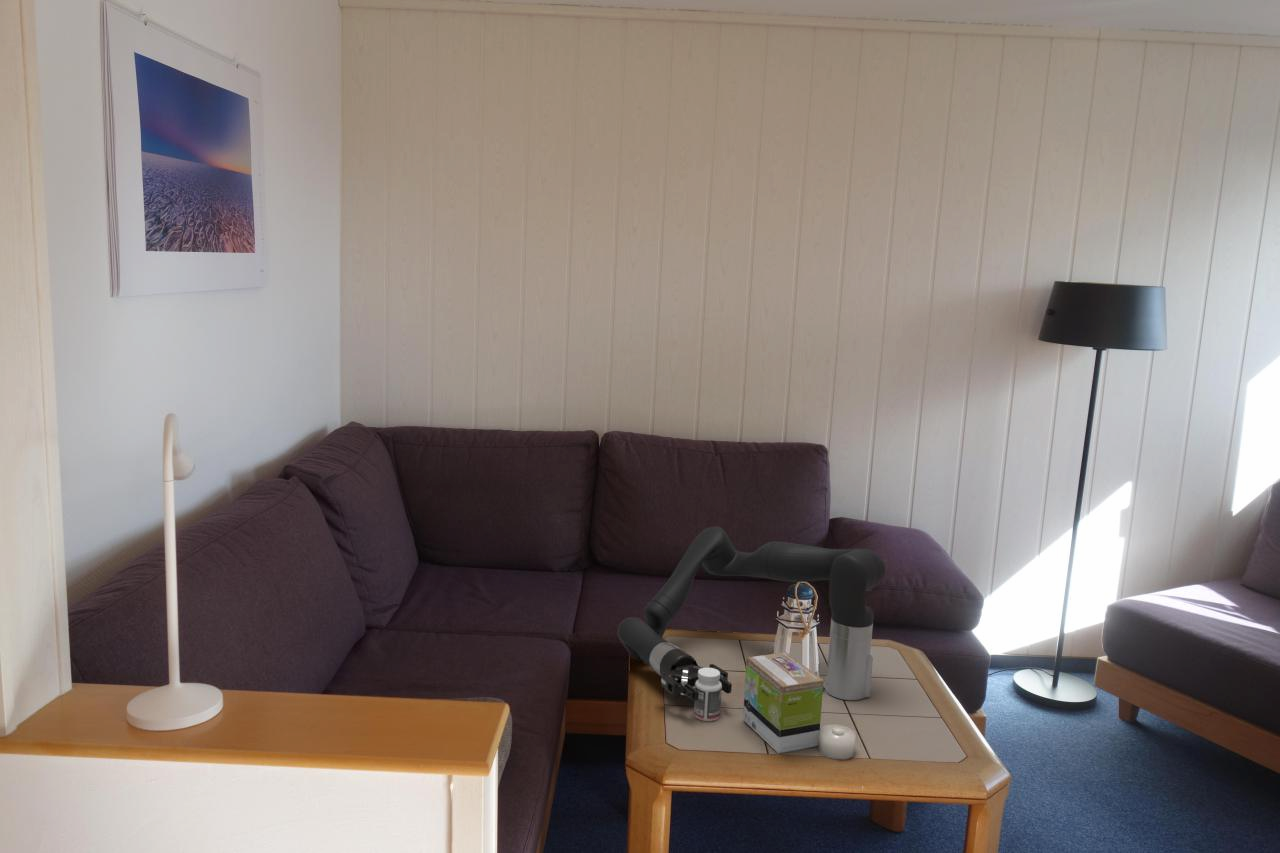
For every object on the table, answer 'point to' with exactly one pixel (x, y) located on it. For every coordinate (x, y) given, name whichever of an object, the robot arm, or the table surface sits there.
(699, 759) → the table surface
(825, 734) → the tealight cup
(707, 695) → the pill bottle
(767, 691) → the tea box
